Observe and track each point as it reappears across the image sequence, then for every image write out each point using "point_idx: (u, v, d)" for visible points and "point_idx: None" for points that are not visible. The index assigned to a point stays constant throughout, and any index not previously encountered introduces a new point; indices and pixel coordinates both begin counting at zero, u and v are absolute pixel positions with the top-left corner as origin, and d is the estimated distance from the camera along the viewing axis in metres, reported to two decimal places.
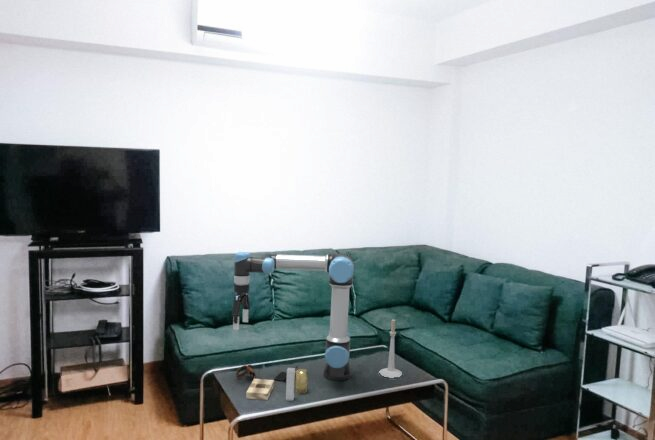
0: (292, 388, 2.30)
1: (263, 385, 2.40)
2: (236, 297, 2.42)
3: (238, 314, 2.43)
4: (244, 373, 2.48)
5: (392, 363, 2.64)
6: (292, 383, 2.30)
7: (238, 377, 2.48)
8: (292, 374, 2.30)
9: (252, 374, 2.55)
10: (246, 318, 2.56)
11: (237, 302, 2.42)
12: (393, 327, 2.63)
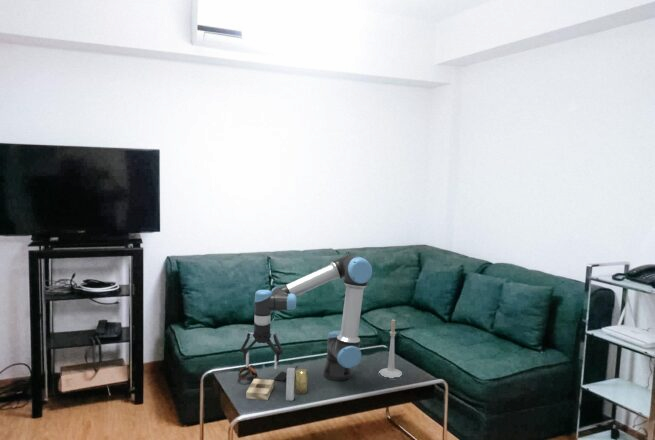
0: (292, 388, 2.30)
1: (263, 385, 2.40)
2: (248, 333, 2.37)
3: (246, 351, 2.36)
4: (246, 374, 2.47)
5: (392, 363, 2.64)
6: (292, 383, 2.30)
7: (240, 378, 2.48)
8: (292, 374, 2.30)
9: (254, 374, 2.55)
10: None
11: (246, 338, 2.36)
12: (393, 327, 2.63)
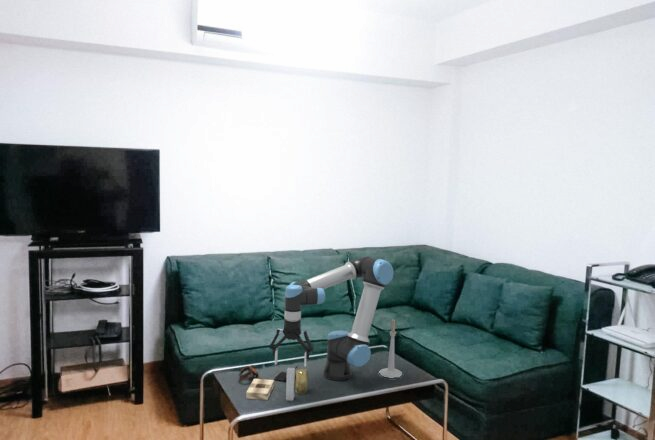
0: (292, 388, 2.30)
1: (263, 385, 2.40)
2: (277, 329, 2.30)
3: (275, 348, 2.30)
4: (247, 374, 2.47)
5: (392, 363, 2.64)
6: (292, 383, 2.30)
7: (241, 378, 2.47)
8: (292, 374, 2.30)
9: (255, 375, 2.54)
10: None
11: None
12: (393, 327, 2.63)
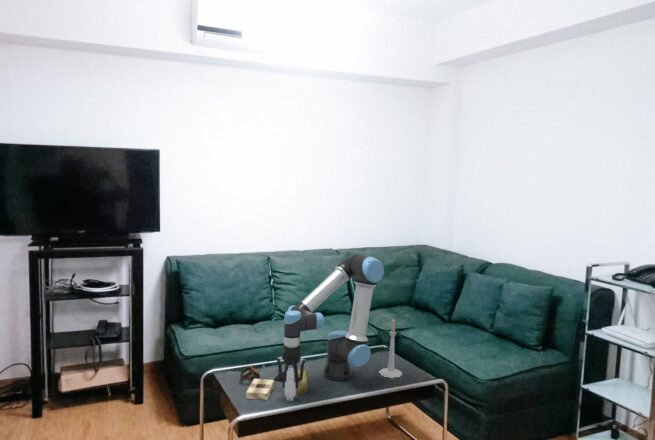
0: (292, 388, 2.30)
1: (263, 385, 2.40)
2: None
3: (284, 378, 2.31)
4: (249, 374, 2.46)
5: (392, 363, 2.64)
6: (292, 383, 2.30)
7: (242, 378, 2.47)
8: (292, 374, 2.30)
9: (256, 375, 2.54)
10: None
11: None
12: (393, 327, 2.63)
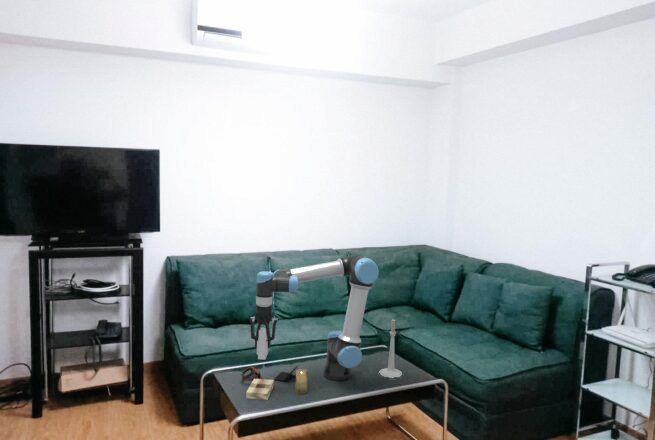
0: (264, 347, 2.34)
1: (263, 385, 2.40)
2: None
3: (256, 337, 2.35)
4: (250, 374, 2.46)
5: (392, 363, 2.64)
6: (264, 342, 2.34)
7: (244, 378, 2.47)
8: (264, 333, 2.34)
9: (257, 375, 2.54)
10: None
11: None
12: (393, 327, 2.63)
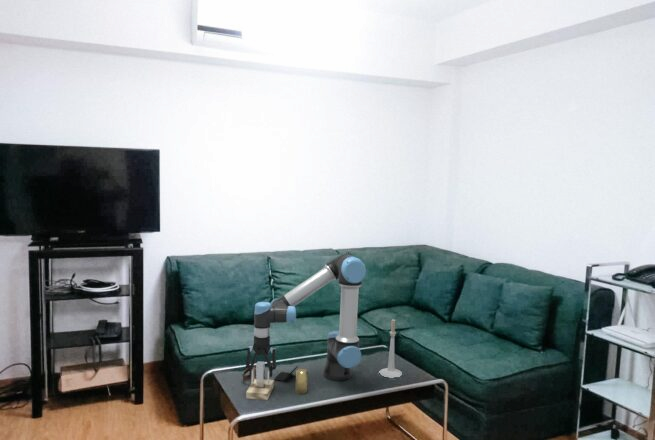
0: (262, 381, 2.36)
1: None
2: None
3: (251, 367, 2.37)
4: None
5: (392, 363, 2.64)
6: (262, 376, 2.36)
7: (245, 379, 2.47)
8: (261, 367, 2.36)
9: None
10: None
11: None
12: (393, 327, 2.63)
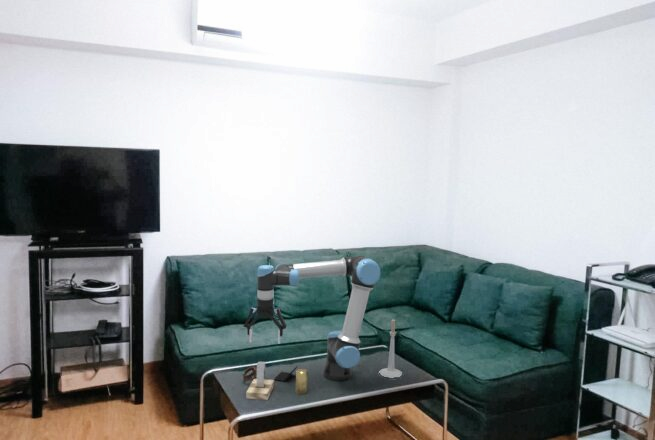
0: (262, 381, 2.36)
1: None
2: (251, 309, 2.38)
3: (249, 326, 2.37)
4: (251, 374, 2.46)
5: (392, 363, 2.64)
6: (262, 376, 2.36)
7: (245, 378, 2.47)
8: (262, 367, 2.36)
9: None
10: (278, 339, 2.37)
11: (249, 314, 2.37)
12: (393, 327, 2.63)
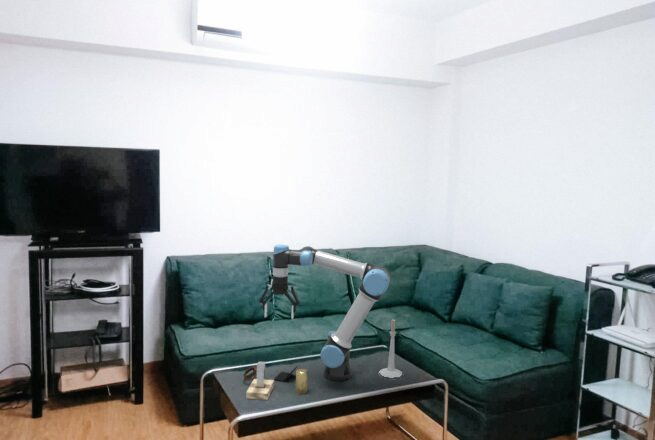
0: (262, 381, 2.36)
1: None
2: None
3: (265, 302, 2.51)
4: (251, 374, 2.46)
5: (392, 363, 2.64)
6: (262, 376, 2.36)
7: (245, 378, 2.47)
8: (262, 367, 2.36)
9: None
10: None
11: (265, 290, 2.51)
12: (393, 327, 2.63)
